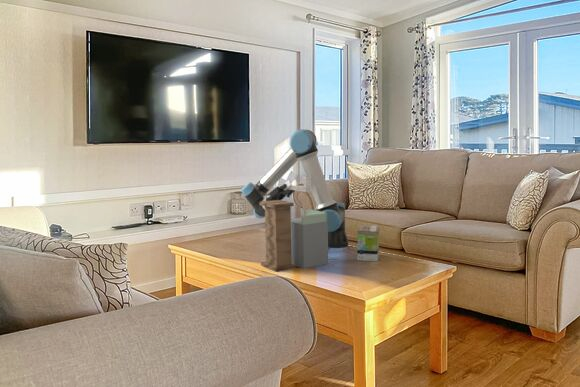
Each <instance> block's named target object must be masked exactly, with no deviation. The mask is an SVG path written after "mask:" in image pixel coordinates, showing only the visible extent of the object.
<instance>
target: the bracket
mask: <svg viewBox="0 0 580 387" xmlns="http://www.w3.org/2000/svg"><path fill="white" fill-rule="evenodd" d="M302 176H303V179H302V180H303V185H299V184H298V185H291V186H290V187H289V188H288V189H289V190H295V192H304V193H310V192H311V193H312V191H311V174H305V173H304V174H303V175H302ZM284 184H285V183H281V184H280V186H282V185H284Z"/></svg>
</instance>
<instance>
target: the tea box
mask: <svg viewBox="0 0 580 387" xmlns="http://www.w3.org/2000/svg"><path fill="white" fill-rule="evenodd" d="M357 229H358V230H357V249H356V250H357V254H356V256H357V258H356V260H357V261H359V262H360V261H363V262H378V260H379V253H380V226H379V225H359V226H358V228H357Z"/></svg>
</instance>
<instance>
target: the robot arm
mask: <svg viewBox="0 0 580 387" xmlns="http://www.w3.org/2000/svg"><path fill="white" fill-rule="evenodd" d="M317 140H318V139H317V136H316V134H315V132H313V131H312V130H309V129H304V128H303V129H298V130H295V131H294V132H293V133H292V134H291V135H290V137H289V146H290V148H288V150H287V151H286V152H285V153H284V154H283V155H282V157H281V158H280V159H279V160H277V162H276V163H275V164H274V165H273V166H272V167H271V168H270V169H269V170H268V171H267V172H266V173H265V174H264V175H263V176H262V178H261V179H260V180H258V182H257V183H255V184H253V183H252V182H248V183H247V184H245V185H244V186H243V187H242V188H241V189H240V192H241V194H242V195H243V197H244V198H245V199H246V200H247V202H248V203H249V204H250V205H251V207H252V208H253V210H252V212H253V215H254V216H255V218H257V219H261V220H262V219H265V206H262V205H260V203H259V202H262V201H271V200H282V201H283V200H284V198H290V197H291V195H293V194H294V192H296V190H289V189H288V188H289V187H290V186H291V185H299V182H298V178H295V179H294V180H293V181H291V179H287V181H285V183H283V184H284V185H282V186H281V185H280V186H276V187H275V188H273V186H275V185H276V184H277V183H278V181H280V180H281V178H282V177H283V176H285V174H286V173H287V172H289V170H290V169H291V168H292V167H293V166H295V164H297V162H298V161H300V163H301V165H302V169H303V170H304V174H311V193H312V196H313V199H314V202H315V204H316V206H315V208H314V210H316V211H321V212H326V213H328V248H344V247H347V246H349V238H348V236H347V232H346V204H345V203H344V202H337V201H336V200H334V199H333V198H332V194H331V192H330V189H329V187H328V183H327V180H326V178H325V175H324V172H323V170H322V169H323V168H322V167H321V164H320V162H319V158H318V156H317V155H318V153H319V150H318V147H317V143H318V142H317ZM272 188H273V190H271V189H272ZM270 190H271V191H270ZM269 191H270V192H269ZM268 192H269V193H268Z"/></svg>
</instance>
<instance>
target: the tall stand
mask: <svg viewBox="0 0 580 387" xmlns="http://www.w3.org/2000/svg"><path fill="white" fill-rule="evenodd" d="M259 203H260V205H262V206H265V217H264V222H265V223H264V226H265V227H264V228H265V232H264V233H265V256H266V257H265V259H266V260H265V261H261V262H260V267H261V266H262V267H263V268H265V269H266V268H267V269H269V270H270V271H274V272H275V273H276V272H277V273H278V272H280V271H286V270H291V269H295V268H296V267H295V266H296V265H294V264H292V258H291V219H292V217H291V216H292V215H291V211H292V210H291V207H294V205H295V204H294V202H292V201H288V200H287V201H286V200H283V199H282V200H271V201H262V202H259Z"/></svg>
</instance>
